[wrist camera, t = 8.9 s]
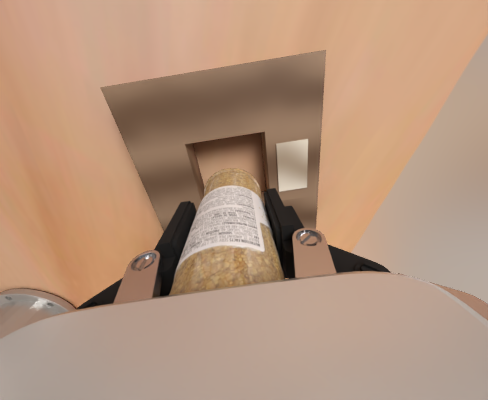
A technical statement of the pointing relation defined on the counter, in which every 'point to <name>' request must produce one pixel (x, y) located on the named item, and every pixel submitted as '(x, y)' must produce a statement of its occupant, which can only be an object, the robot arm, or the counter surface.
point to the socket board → (226, 127)
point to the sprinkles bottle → (228, 238)
